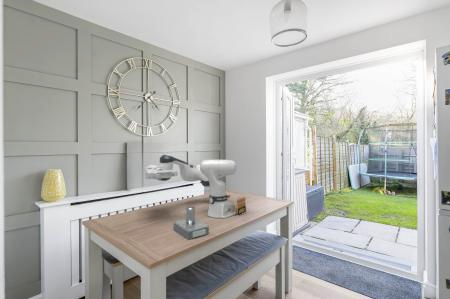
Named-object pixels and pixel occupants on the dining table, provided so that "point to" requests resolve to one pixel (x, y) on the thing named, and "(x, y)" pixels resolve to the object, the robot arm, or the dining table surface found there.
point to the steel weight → (190, 215)
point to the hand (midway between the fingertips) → (167, 175)
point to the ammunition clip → (240, 206)
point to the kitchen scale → (191, 229)
